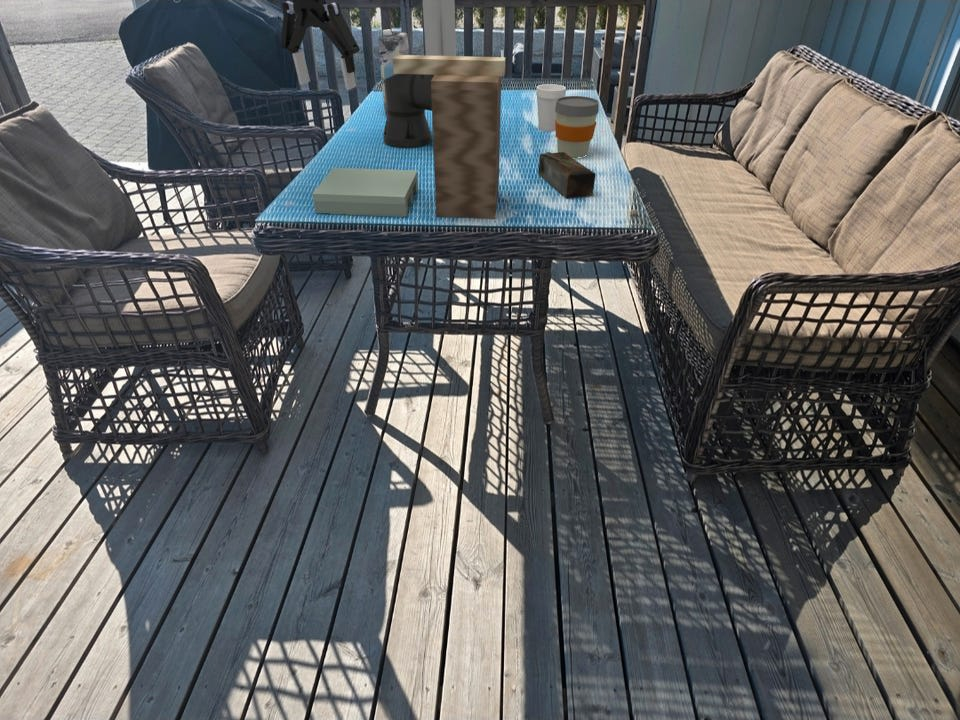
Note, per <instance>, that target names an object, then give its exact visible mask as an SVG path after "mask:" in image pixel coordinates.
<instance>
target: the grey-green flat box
mask: <svg viewBox="0 0 960 720" xmlns="http://www.w3.org/2000/svg"><path fill="white" fill-rule="evenodd" d="M418 173H419V172H418V170H416V169H415V170H414V169H413V170H410V169H386V168H385V169H383V168H355V167H350V168H349V167H332V169H331V170H329V173H328V174H327V175H326V176H325V177H324V178H323V180H322V181H321V182H320V183H319V185H318V186H317V187H316V188H315V190H313V192H312V194H311V195H312V201H313V204H314V210H315V214H316V213H330V214H329V215H342V214H346V215H350V216H370V217H371V216H372V217H373V216H375V217H377V216H378V217H395V218H396V217H398V218H401V217H402V218H407V216H408V214H409V206H411V205H413V202H414V194H418V191H419V180H418V177H419V175H418ZM346 215H345V216H346Z"/></svg>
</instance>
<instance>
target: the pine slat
mask: <svg viewBox="0 0 960 720" xmlns="http://www.w3.org/2000/svg"><path fill="white" fill-rule="evenodd" d="M393 69H394V74H428V75H470V76H502V77H505V74H506V56H505V57H504V56H503V57H502V56H468V55H467V56H466V55H465V56H464V55H462V56H459V55H458V56H457V55H456V56H426V55H424V54H423V55H419V54H418V55H417V54H415V55H414V54H409V55H396V56H395V57H394V58H393Z"/></svg>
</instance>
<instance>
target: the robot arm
mask: <svg viewBox="0 0 960 720" xmlns="http://www.w3.org/2000/svg"><path fill="white" fill-rule="evenodd" d="M455 3H456V2H455V0H422V11H423V12H422V13H423V28H424V29H423V30H424V46H425V47H424V49H425V56H457V44H456V43H457V41H456V39H457V38H456V35H457V34H456V9H455V7H456V5H455ZM281 8H282V13H283V16H282V28H281V29H282V30H281V39H280V40H281V41H280V42H281V43H280V47H281V49H283V50H286V51H288V52H289V54H290V56H291V57H290V58H291V60H292V64H293V67H294V68H295V70H296V71H295V72H296V75H297V78H298V82H299V85H301V86H302V85H305V84H307V83H308V84H309V82H311V79H310V75H309V71H308V66H307V62H306V57H305V53H304V50H302V47H301V46H302V43H303V41H304V37H305V35H306V31H307V29H308V28H310V27H312V28H315V29H316V28H318V29H319V30H321V31H323V32H324V34H325V35H326V36H327V37H328V38H329V40H330V42H331V43H332V44H333V45H334V47H335V48H336V49H337V51H338V52H339V53H340V54H341V56H340V57H339V62H340V67H341V71H342V75H343V81H344V87H345V90H346V91H350V90H353V89H354V88H356V87H357V83H356V77H355V71H356V67H355V66H356V65H355V60H354V54H356V53H359V52H360V47H359V45H358V42H357V41H356V39H355V37H354V35H353V33H352V31H351V30H350V28H349V26H348V24H347V22H346V20H345V18H344V16H343V14H342V11H341V7H340V4H339V2H338V1H334V2H332V3H328V4H327V1H326V0H287V1H284V2H282V3H281ZM433 77H434V75H428V74H394V69H393V62H390V63H388V64H386V65H385V67H384V85H385V96H386V106H387V116H386V120H385V124H384V129H383V143H384V144H385V145H387V146H390V147H395V148H403V149H406V148H407V149H408V148H419V147H423V146H426V145H428V144H430V143H431V142H433V136H432V131H431V129H430V126H429V122H428V120H427V117H426V112H425V111H430V112H432V98H431V80H432V78H433Z"/></svg>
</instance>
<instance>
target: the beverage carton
mask: <svg viewBox="0 0 960 720" xmlns="http://www.w3.org/2000/svg"><path fill="white" fill-rule="evenodd" d="M538 157H539V160H538V170H537V174H539V175H538V176H540V178H542V179H543V178H544V179H545V180H546V181H547V182H546V181H545V180H544V179H543V180H544V181H545V182H546V183H547V184H549V185H550V186H552V187H553V188H554V189H555V190H556V191H558V193H560V194H561V195H562V196H563V197H564V198H566V199H573V198H581V197H582V198H584V197H591V196H593V193H594V188H595V181H596V173H595V172H593V170H591V169H589V168H588V167H586V166H585V165H584V164H582V163H580V162H579V161H578V160H576V159H573V158H572V157H570V156H569V155H567V154H566V153H565V152H558V151H557V152H551V151H546V152H544V153H540V154H539V156H538Z"/></svg>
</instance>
